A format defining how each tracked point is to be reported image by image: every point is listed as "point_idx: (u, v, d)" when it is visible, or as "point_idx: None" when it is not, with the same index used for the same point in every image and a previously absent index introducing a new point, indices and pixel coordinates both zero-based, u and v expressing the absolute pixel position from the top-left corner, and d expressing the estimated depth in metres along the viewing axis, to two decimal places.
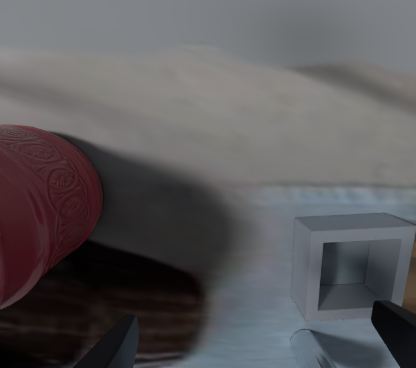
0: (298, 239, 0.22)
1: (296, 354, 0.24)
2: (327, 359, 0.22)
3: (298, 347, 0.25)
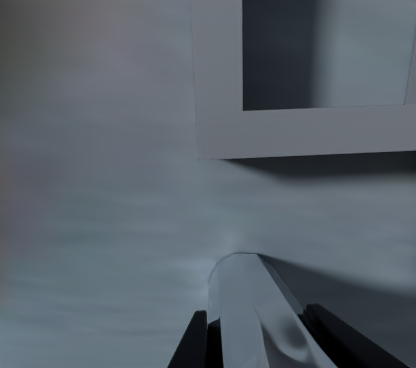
0: None
1: (210, 310, 0.08)
2: (292, 312, 0.06)
3: (216, 290, 0.08)
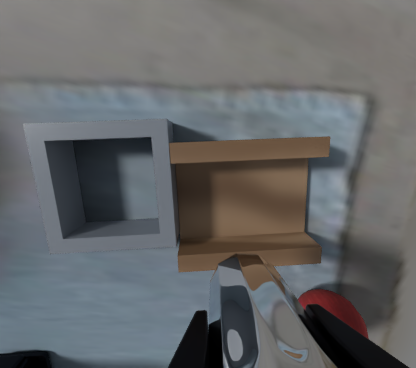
0: None
1: (210, 309, 0.08)
2: (293, 313, 0.06)
3: (217, 290, 0.08)
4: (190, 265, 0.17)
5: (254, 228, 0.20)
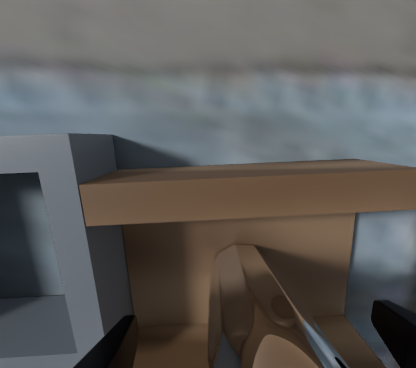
0: None
1: (210, 293, 0.09)
2: (283, 292, 0.07)
3: (217, 275, 0.09)
4: None
5: None
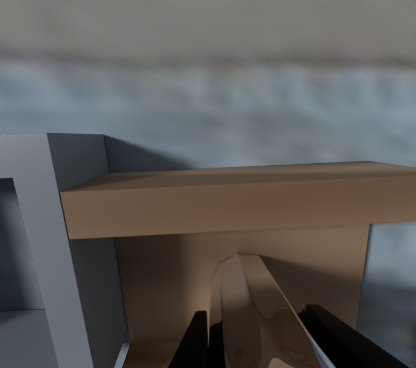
0: None
1: (211, 310, 0.08)
2: (294, 314, 0.06)
3: (218, 290, 0.09)
4: None
5: None
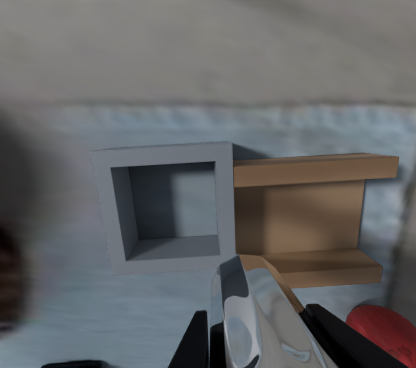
0: None
1: (212, 309, 0.08)
2: (295, 314, 0.06)
3: (219, 290, 0.09)
4: None
5: (306, 244, 0.20)
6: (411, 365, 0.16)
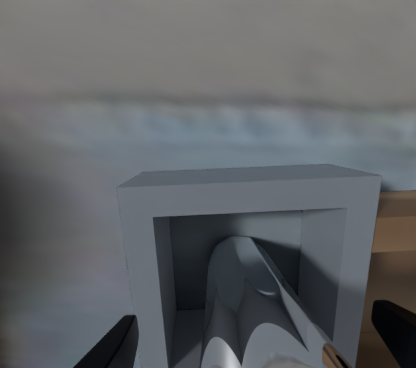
0: None
1: (209, 277, 0.10)
2: (271, 273, 0.08)
3: (214, 262, 0.10)
4: None
5: None
6: None
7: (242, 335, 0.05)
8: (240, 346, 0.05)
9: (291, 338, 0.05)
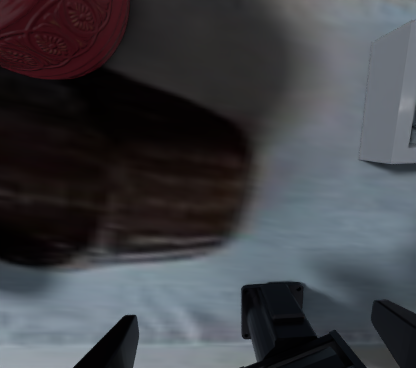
0: (379, 64, 0.17)
1: None
2: None
3: None
4: None
5: None
6: None
7: None
8: None
9: None
